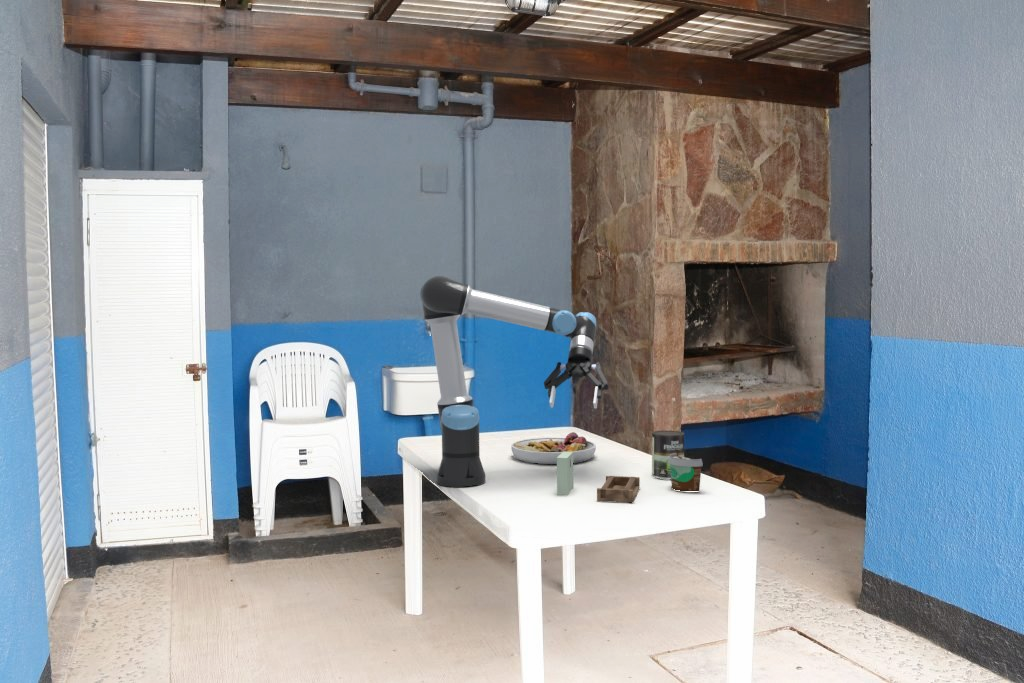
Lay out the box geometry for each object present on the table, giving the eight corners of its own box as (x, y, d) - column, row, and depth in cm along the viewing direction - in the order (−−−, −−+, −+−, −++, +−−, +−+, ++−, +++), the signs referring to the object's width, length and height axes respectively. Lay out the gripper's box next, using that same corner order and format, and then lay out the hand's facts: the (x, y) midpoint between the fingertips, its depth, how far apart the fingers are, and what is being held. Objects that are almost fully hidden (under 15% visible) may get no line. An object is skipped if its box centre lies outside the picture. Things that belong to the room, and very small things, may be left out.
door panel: (556, 495, 248) (556, 457, 247) (563, 487, 257) (563, 451, 257) (567, 495, 247) (567, 458, 246) (573, 488, 257) (573, 451, 256)
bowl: (565, 470, 283) (565, 447, 283) (494, 460, 301) (494, 438, 301) (611, 456, 307) (611, 434, 306) (543, 448, 325) (543, 427, 325)
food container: (659, 487, 256) (659, 454, 256) (674, 484, 259) (675, 452, 259) (686, 495, 246) (686, 461, 245) (702, 493, 249) (702, 459, 248)
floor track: (597, 501, 240) (596, 489, 240) (606, 487, 257) (606, 475, 257) (632, 503, 237) (632, 490, 237) (639, 488, 255) (639, 477, 254)
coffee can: (690, 478, 268) (690, 434, 267) (660, 481, 265) (660, 436, 264) (675, 472, 278) (675, 429, 277) (646, 474, 275) (646, 431, 274)
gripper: (620, 360, 274) (614, 413, 261) (544, 360, 281) (535, 412, 267) (618, 345, 269) (612, 398, 255) (541, 345, 275) (531, 397, 262)
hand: (572, 405), depth 261 cm, fingers open, 13 cm apart
